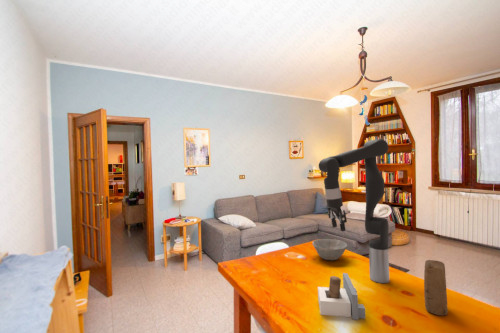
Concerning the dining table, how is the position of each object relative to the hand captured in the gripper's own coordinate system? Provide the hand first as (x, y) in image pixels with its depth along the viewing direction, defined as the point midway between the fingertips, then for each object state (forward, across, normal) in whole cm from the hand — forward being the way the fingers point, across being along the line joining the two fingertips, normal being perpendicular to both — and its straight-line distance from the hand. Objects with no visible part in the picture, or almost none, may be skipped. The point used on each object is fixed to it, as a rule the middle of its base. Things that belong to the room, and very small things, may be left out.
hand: (338, 229), depth 122 cm
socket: (+29, -14, +15) cm, 36 cm away
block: (+34, -24, -26) cm, 49 cm away
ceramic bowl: (+30, +39, -9) cm, 50 cm away
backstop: (+30, -15, +6) cm, 34 cm away
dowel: (+28, -14, +15) cm, 34 cm away
